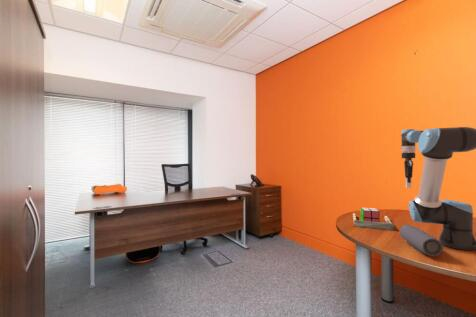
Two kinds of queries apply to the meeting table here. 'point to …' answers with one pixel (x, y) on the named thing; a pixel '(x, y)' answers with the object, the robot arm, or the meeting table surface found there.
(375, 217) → the puzzle cube
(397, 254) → the meeting table surface
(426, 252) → the bluetooth speaker
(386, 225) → the wooden serving tray
